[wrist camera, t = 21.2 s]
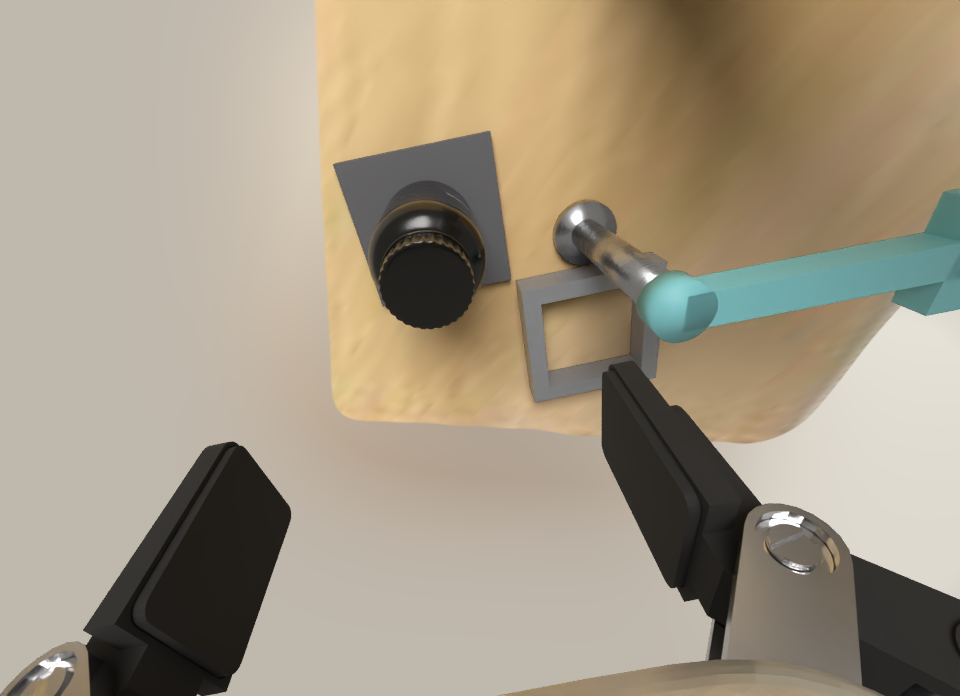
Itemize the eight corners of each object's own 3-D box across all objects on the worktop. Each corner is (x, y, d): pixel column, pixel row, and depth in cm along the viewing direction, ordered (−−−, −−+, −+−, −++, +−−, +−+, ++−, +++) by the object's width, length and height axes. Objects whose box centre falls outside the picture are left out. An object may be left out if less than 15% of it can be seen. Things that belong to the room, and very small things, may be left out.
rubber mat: (335, 163, 27) (332, 164, 26) (488, 131, 27) (490, 131, 26) (383, 302, 33) (383, 306, 32) (509, 276, 33) (511, 279, 32)
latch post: (550, 206, 30) (618, 262, 19) (613, 193, 30) (717, 241, 19) (554, 266, 33) (616, 345, 22) (612, 254, 33) (702, 327, 22)
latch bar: (633, 351, 22) (648, 370, 20) (640, 250, 18) (659, 263, 17) (925, 294, 22) (962, 308, 20) (983, 184, 19) (1032, 190, 17)
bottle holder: (515, 280, 33) (521, 291, 31) (651, 251, 33) (666, 261, 31) (529, 386, 39) (535, 402, 37) (643, 363, 39) (655, 377, 37)
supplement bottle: (482, 189, 28) (514, 235, 18) (463, 276, 31) (480, 356, 21) (387, 167, 26) (362, 204, 16) (378, 260, 30) (353, 338, 20)
